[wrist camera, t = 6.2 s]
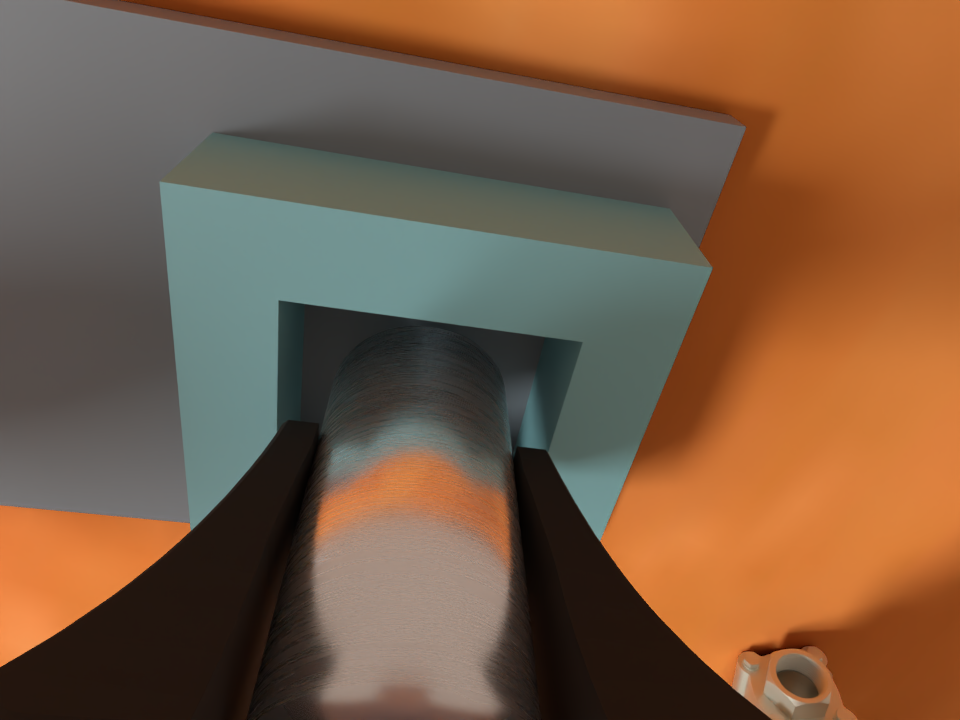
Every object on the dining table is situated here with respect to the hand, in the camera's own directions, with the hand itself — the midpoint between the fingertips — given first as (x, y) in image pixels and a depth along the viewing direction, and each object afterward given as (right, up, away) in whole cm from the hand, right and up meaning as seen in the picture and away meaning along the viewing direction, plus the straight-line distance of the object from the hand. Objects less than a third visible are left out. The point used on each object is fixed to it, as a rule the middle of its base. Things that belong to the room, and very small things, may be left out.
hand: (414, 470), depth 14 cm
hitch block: (-3, +3, +4) cm, 6 cm away
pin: (0, +1, +2) cm, 2 cm away
